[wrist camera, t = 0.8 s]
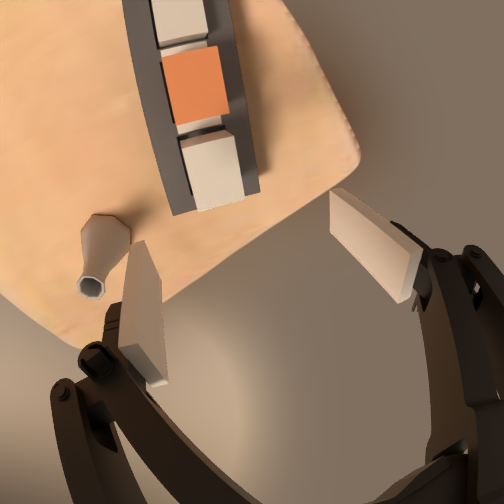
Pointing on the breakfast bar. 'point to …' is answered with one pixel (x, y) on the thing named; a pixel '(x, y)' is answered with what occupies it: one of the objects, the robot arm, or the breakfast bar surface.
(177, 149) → the power strip
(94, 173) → the breakfast bar surface
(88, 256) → the flask
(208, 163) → the switch
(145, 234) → the breakfast bar surface
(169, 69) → the switch
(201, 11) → the switch
